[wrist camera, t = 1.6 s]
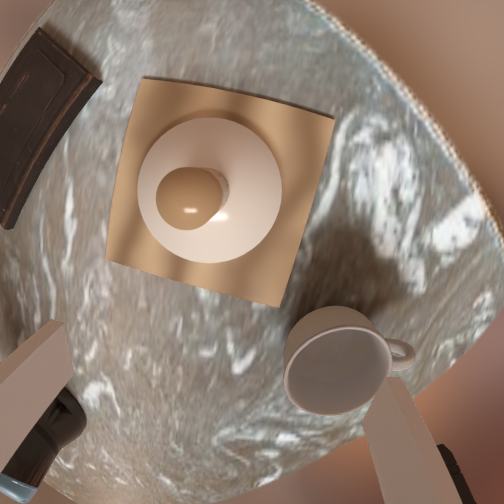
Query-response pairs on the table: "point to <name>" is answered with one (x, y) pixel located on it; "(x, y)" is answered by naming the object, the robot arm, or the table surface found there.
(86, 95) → the hardcover book
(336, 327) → the teacup
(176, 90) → the mat
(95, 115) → the table surface
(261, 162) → the lid
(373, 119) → the table surface
